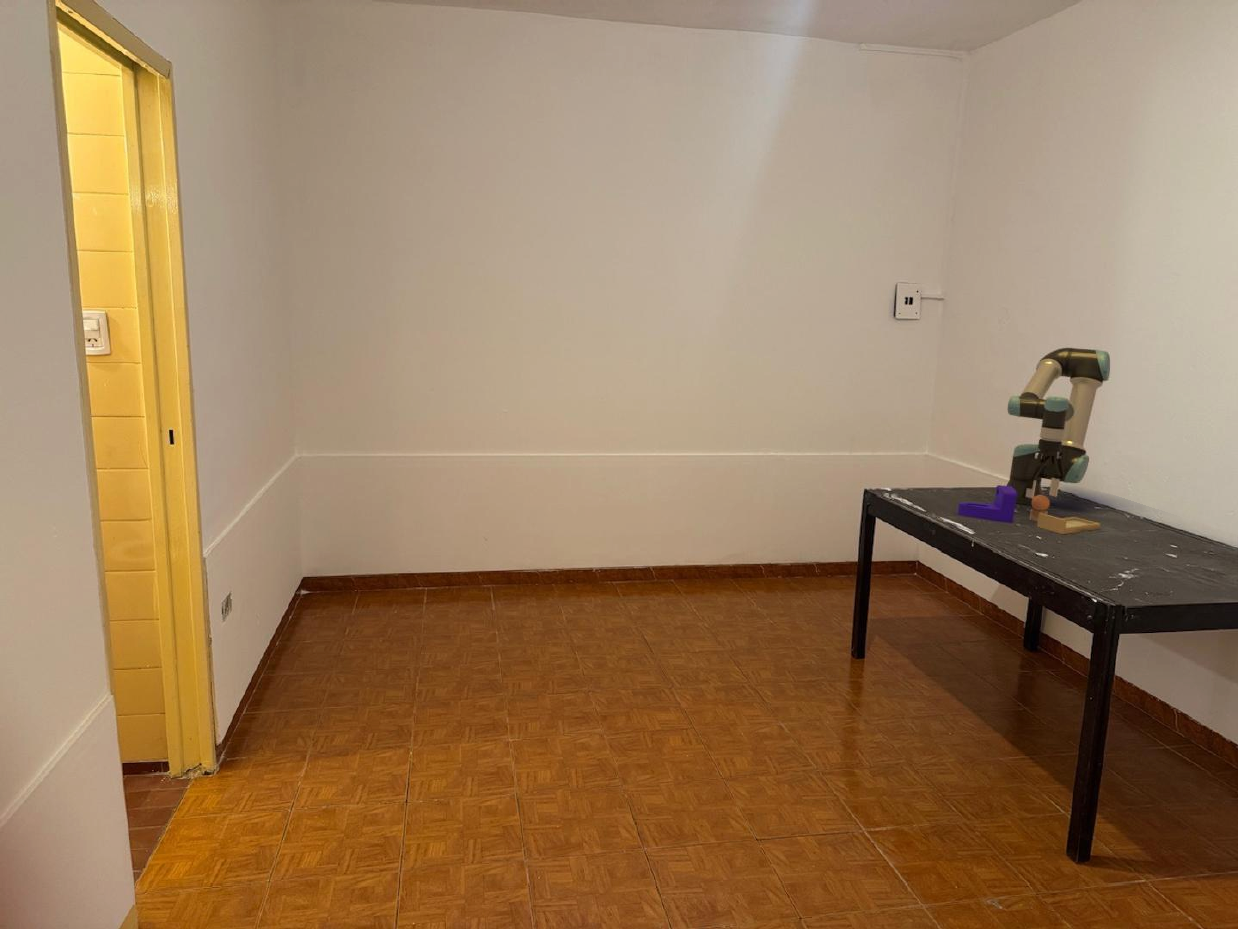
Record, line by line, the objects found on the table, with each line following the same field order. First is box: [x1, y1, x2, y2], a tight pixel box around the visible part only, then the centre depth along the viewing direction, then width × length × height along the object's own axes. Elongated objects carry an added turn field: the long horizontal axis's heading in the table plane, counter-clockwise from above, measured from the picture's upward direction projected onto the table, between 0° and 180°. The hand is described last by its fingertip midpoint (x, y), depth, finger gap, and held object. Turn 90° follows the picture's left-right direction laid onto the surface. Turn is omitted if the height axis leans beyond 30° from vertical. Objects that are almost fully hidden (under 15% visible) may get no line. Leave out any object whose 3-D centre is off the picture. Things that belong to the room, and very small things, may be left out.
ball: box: [1031, 494, 1051, 511], centre depth 318 cm, size 6×6×6 cm
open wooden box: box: [1029, 508, 1049, 523], centre depth 319 cm, size 4×4×4 cm
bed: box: [1036, 513, 1101, 535], centre depth 310 cm, size 22×10×5 cm, turn 119°
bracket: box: [957, 484, 1017, 524], centre depth 319 cm, size 18×11×12 cm, turn 79°
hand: (1041, 496), depth 317 cm, fingers open, 13 cm apart
